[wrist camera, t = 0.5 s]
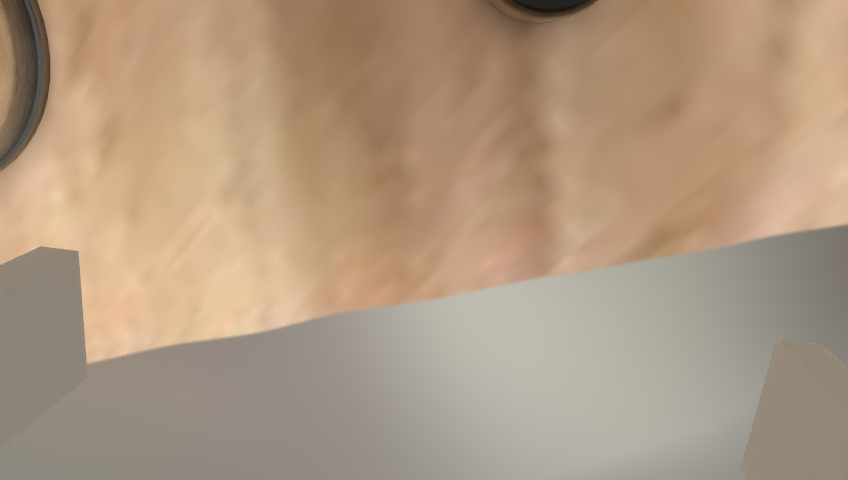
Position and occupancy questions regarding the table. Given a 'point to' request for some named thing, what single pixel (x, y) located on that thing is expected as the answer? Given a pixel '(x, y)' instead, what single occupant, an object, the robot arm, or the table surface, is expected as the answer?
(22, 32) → the pot
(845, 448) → the robot arm
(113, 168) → the table surface
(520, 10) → the supplement bottle
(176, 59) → the table surface
